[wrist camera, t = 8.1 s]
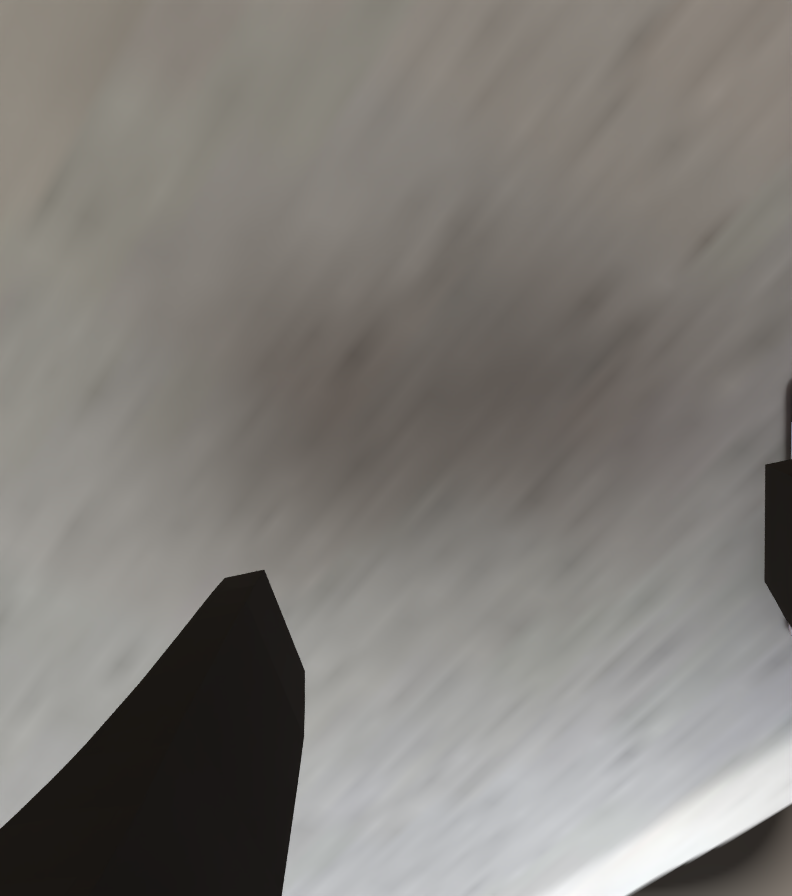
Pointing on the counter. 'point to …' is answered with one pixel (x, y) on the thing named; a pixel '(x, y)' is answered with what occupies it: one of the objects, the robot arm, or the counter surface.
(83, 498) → the counter surface
